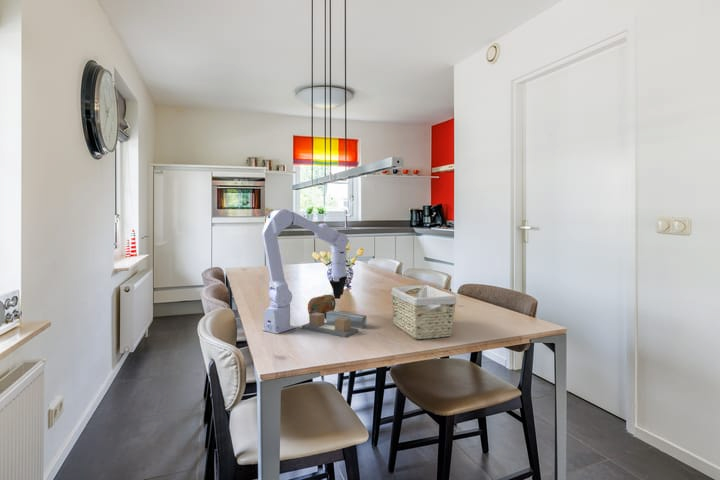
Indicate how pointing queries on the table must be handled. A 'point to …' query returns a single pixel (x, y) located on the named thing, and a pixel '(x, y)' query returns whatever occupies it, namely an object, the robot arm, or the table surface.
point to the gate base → (330, 325)
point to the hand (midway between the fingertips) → (338, 296)
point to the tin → (321, 304)
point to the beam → (355, 319)
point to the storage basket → (423, 311)
